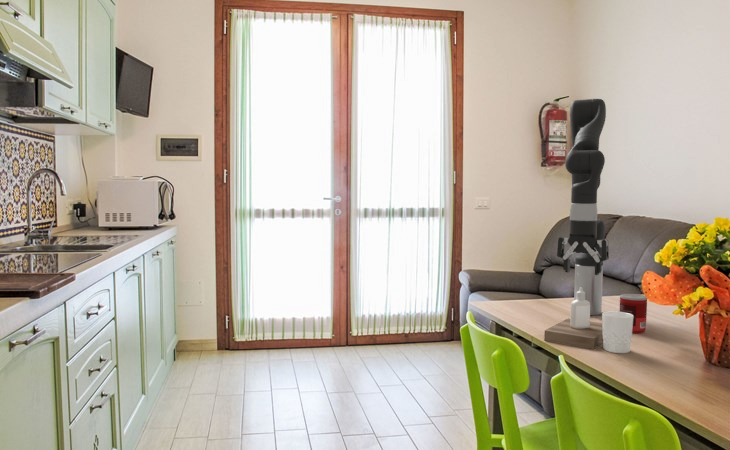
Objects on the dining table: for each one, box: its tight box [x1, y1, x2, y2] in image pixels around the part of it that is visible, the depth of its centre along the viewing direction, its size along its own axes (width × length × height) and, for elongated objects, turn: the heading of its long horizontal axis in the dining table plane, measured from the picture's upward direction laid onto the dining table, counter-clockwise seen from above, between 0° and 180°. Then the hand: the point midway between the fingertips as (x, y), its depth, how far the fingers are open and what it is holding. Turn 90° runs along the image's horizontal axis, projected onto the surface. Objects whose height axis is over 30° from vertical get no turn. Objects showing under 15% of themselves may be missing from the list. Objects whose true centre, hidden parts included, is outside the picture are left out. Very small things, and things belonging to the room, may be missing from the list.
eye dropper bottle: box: [570, 287, 591, 329], centre depth 170 cm, size 4×6×12 cm
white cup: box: [601, 310, 634, 354], centre depth 157 cm, size 8×8×10 cm
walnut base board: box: [543, 317, 603, 350], centre depth 170 cm, size 20×14×3 cm
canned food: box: [619, 293, 648, 334], centre depth 178 cm, size 8×8×11 cm
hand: (581, 273), depth 169 cm, fingers open, 8 cm apart
